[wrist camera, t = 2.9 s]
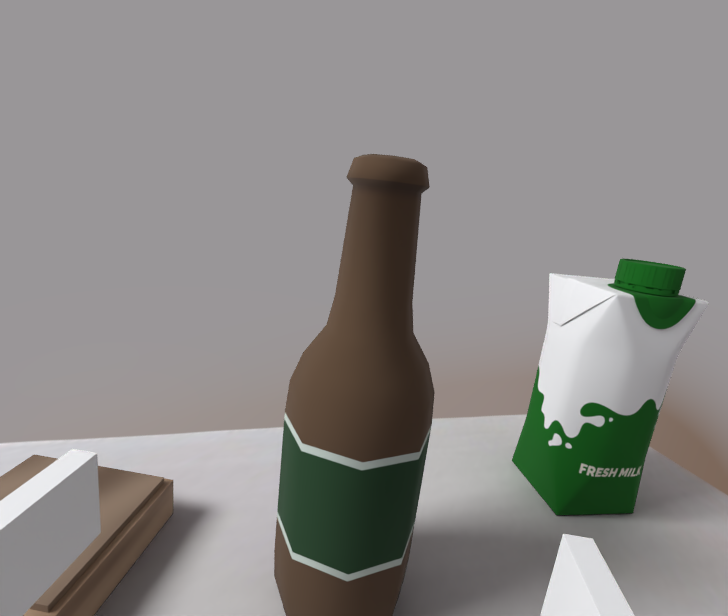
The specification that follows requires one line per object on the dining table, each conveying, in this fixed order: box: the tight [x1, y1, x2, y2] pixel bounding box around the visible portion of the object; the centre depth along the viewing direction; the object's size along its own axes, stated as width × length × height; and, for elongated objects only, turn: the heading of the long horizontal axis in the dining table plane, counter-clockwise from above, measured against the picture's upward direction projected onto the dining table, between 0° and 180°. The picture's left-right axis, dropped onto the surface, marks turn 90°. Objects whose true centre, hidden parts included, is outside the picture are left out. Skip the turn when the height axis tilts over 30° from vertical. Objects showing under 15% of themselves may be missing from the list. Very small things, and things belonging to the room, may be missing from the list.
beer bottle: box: [274, 154, 434, 616], centre depth 22 cm, size 8×8×24 cm
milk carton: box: [512, 259, 708, 515], centre depth 35 cm, size 9×9×20 cm
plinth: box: [0, 455, 173, 616], centre depth 24 cm, size 10×10×3 cm
